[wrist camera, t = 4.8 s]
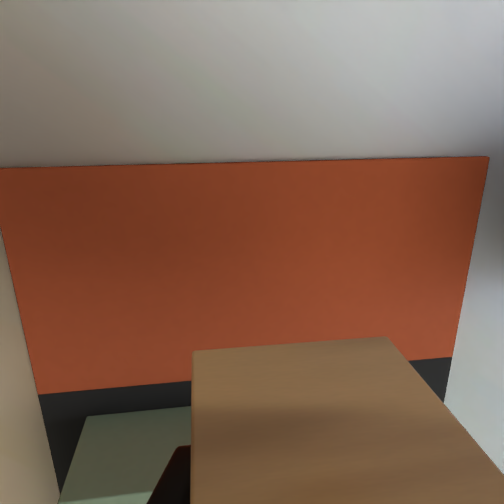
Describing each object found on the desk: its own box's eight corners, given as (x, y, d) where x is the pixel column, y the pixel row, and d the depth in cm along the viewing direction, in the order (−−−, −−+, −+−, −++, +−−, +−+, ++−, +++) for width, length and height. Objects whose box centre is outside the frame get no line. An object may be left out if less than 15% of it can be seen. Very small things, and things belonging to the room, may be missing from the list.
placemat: (413, 542, 26) (416, 547, 26) (84, 592, 23) (83, 598, 23) (485, 156, 18) (490, 157, 17) (-10, 168, 15) (-13, 169, 15)
